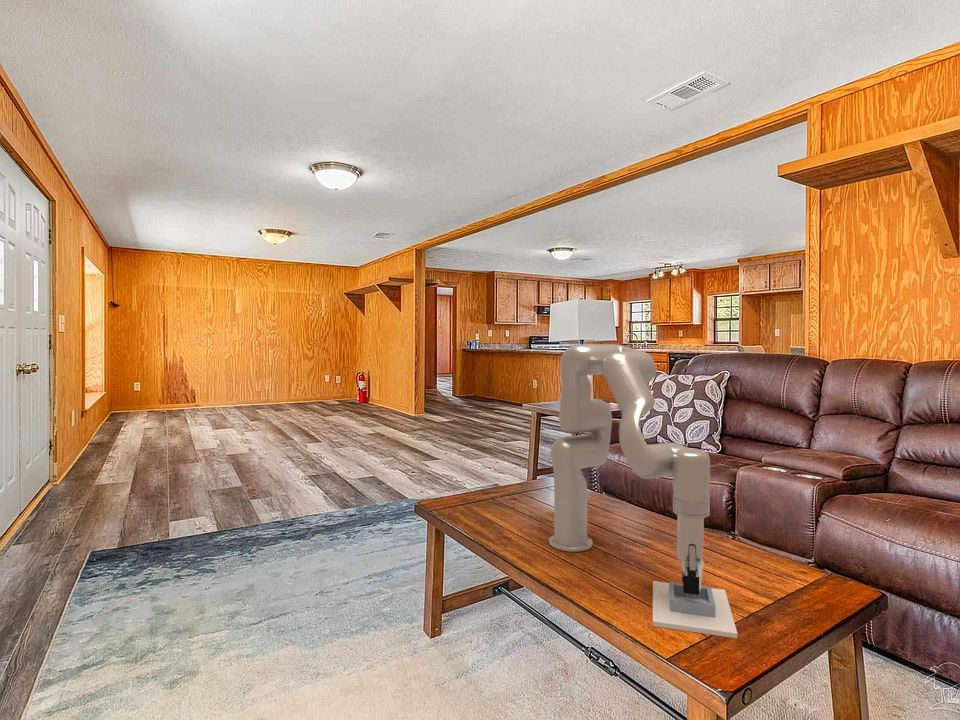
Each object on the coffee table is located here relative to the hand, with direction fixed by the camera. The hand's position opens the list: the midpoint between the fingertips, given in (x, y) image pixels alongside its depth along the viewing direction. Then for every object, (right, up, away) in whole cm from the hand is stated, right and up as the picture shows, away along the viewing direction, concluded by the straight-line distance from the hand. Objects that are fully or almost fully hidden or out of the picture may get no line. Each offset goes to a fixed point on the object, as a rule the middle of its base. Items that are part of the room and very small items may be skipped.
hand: (690, 587), depth 119 cm
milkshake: (0, -2, 0) cm, 2 cm away
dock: (0, -5, 0) cm, 5 cm away
